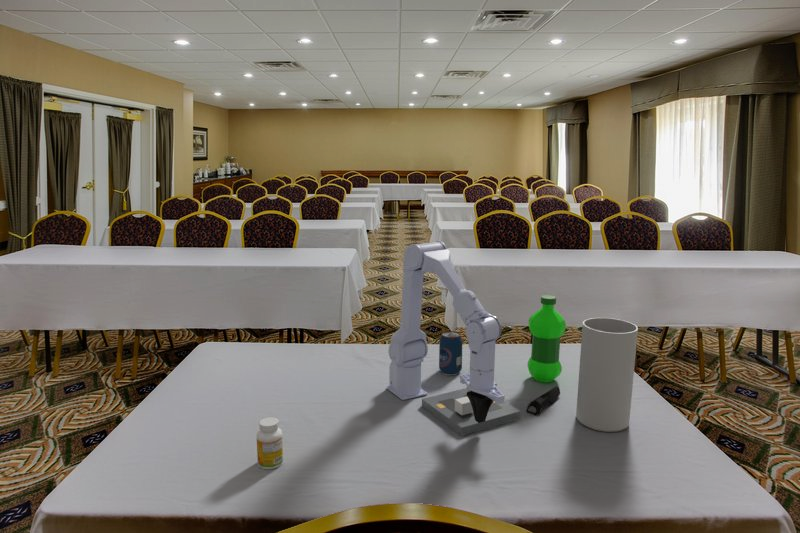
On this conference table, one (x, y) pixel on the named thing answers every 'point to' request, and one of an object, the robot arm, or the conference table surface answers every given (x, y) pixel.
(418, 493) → the conference table surface
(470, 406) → the light grey block
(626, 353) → the cylinder vase
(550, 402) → the electric trimmer
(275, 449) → the supplement bottle
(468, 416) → the switch panel
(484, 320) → the robot arm
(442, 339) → the soda can
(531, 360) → the plastic bottle
